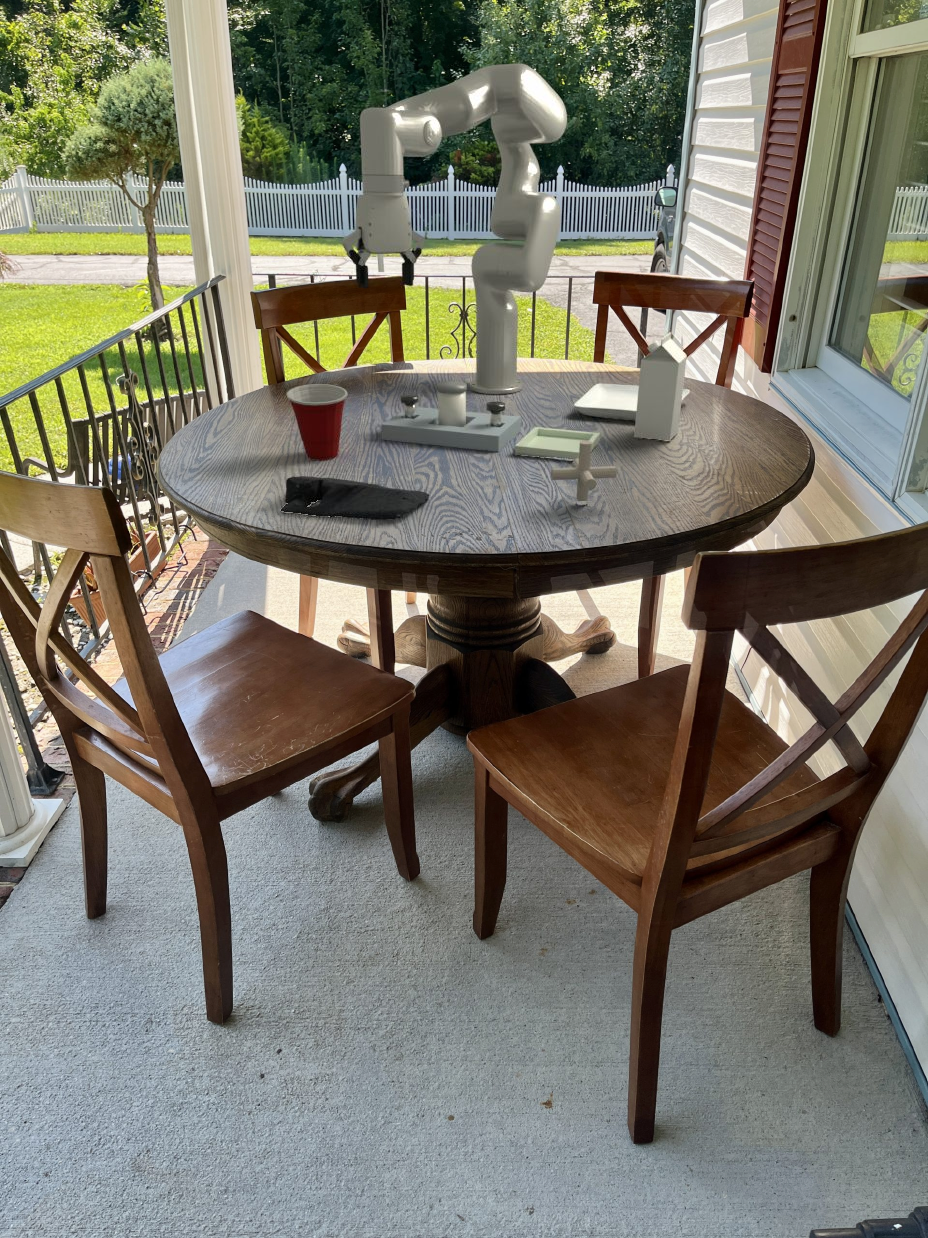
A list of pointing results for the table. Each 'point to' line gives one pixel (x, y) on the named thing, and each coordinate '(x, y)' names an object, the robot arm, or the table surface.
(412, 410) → the plunger
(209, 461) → the table surface
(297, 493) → the dark slate chunk
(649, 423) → the milk carton
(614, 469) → the pipe connector
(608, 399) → the salad plate
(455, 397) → the cartridge
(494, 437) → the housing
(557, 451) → the tray
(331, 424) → the plastic cup
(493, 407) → the plunger
